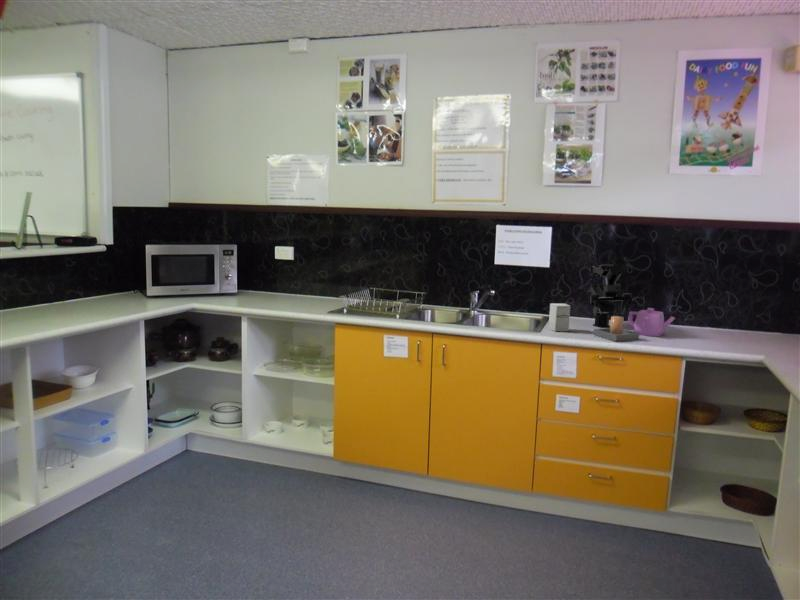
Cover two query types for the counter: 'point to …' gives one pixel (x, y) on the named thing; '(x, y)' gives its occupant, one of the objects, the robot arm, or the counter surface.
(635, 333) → the tray
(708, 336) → the counter surface
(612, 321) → the orange-brown rounded cylinder
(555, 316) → the grey box
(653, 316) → the teakettle
